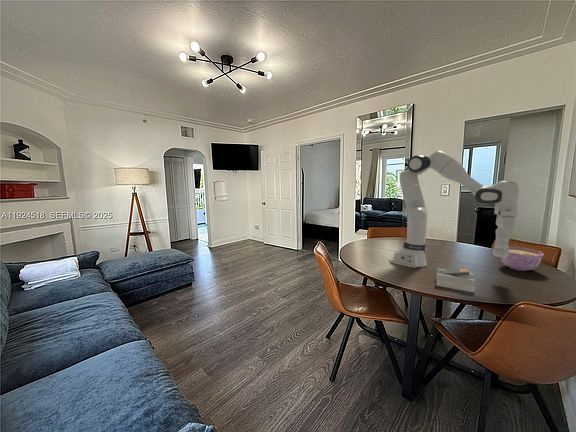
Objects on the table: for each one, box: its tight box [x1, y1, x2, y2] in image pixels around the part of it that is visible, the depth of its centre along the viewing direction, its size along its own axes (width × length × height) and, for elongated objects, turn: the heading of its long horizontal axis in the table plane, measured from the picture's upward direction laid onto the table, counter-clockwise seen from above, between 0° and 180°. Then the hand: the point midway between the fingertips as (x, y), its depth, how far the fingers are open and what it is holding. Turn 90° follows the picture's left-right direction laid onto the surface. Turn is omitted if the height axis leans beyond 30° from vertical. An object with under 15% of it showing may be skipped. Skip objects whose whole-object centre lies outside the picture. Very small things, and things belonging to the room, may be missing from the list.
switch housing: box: [435, 268, 476, 293], centre depth 126 cm, size 16×12×6 cm
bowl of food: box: [500, 246, 544, 272], centre depth 148 cm, size 20×20×12 cm
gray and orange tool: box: [441, 268, 470, 276], centre depth 126 cm, size 12×6×2 cm, turn 57°
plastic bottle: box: [492, 226, 512, 258], centre depth 130 cm, size 6×7×20 cm
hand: (502, 236), depth 129 cm, fingers closed on plastic bottle, 6 cm apart
